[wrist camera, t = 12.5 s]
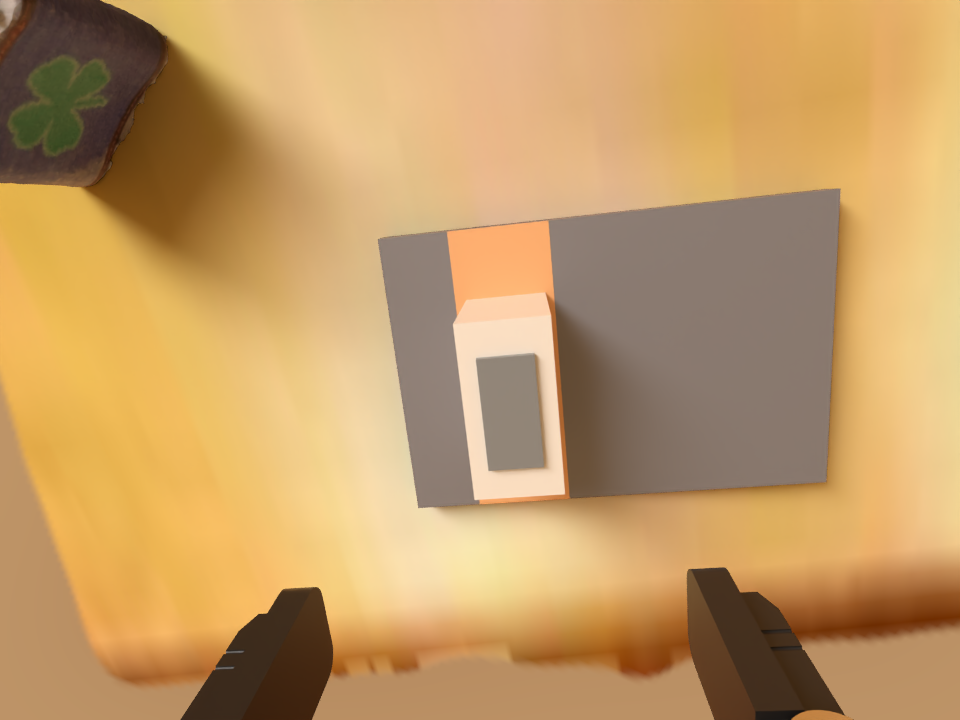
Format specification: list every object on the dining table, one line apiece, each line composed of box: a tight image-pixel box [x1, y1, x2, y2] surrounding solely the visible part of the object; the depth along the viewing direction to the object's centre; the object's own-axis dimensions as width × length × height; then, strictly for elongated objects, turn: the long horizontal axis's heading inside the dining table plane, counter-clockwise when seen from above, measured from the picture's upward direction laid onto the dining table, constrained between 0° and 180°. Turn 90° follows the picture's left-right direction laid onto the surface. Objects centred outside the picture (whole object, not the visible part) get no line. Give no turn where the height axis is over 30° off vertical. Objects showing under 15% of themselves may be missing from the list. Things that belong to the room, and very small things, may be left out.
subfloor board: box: [378, 189, 840, 508], centre depth 31 cm, size 22×15×2 cm
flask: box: [0, 0, 168, 187], centre depth 25 cm, size 9×3×11 cm, turn 142°
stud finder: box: [453, 292, 565, 500], centre depth 27 cm, size 4×8×6 cm, turn 6°
